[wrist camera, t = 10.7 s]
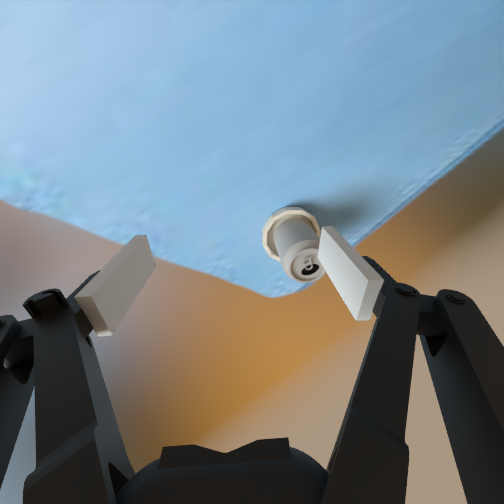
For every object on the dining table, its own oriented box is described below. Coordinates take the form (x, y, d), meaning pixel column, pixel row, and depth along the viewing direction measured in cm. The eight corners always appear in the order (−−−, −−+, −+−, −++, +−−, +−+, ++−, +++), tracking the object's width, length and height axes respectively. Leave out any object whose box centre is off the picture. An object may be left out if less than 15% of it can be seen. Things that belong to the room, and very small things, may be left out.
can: (281, 256, 44) (294, 294, 34) (266, 227, 41) (276, 258, 30) (314, 241, 43) (339, 275, 32) (302, 209, 40) (326, 236, 29)
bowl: (262, 206, 40) (264, 210, 38) (319, 206, 40) (324, 210, 38) (261, 257, 45) (262, 263, 43) (311, 256, 45) (315, 261, 43)
